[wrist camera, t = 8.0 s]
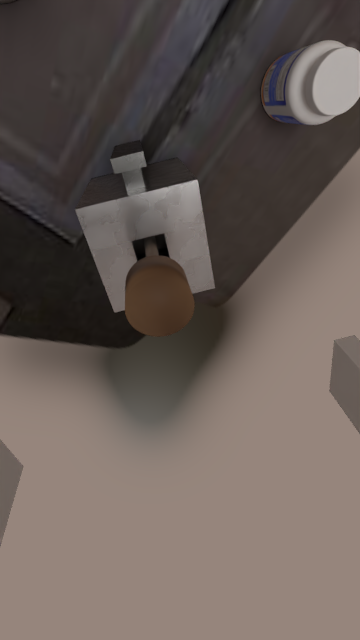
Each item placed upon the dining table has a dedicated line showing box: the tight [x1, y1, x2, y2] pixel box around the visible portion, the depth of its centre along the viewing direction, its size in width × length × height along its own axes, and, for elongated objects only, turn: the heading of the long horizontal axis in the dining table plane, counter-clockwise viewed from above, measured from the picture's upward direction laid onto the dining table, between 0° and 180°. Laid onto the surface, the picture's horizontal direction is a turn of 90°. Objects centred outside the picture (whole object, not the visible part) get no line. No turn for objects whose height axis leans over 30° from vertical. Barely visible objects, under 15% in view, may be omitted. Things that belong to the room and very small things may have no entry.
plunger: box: [125, 233, 195, 337], centre depth 26 cm, size 7×7×18 cm
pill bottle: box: [261, 40, 360, 125], centre depth 27 cm, size 5×5×10 cm
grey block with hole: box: [75, 140, 215, 312], centre depth 30 cm, size 9×11×12 cm
